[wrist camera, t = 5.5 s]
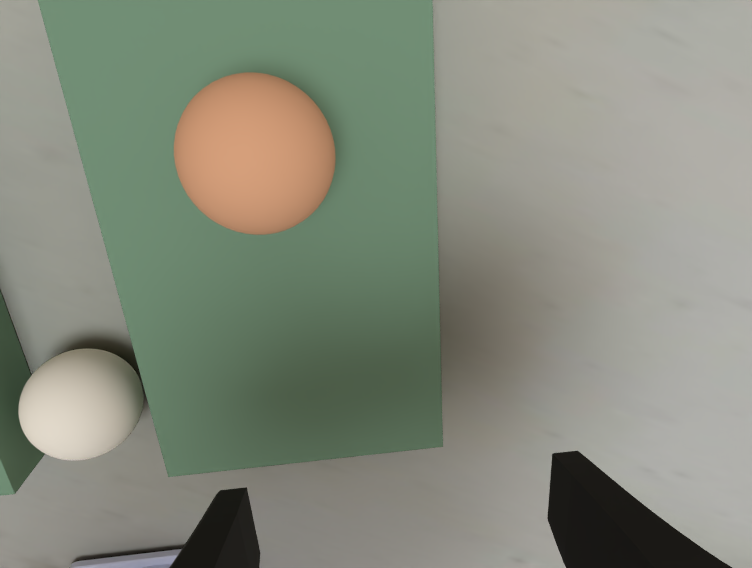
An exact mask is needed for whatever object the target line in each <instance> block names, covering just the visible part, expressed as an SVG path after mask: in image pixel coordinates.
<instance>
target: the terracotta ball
mask: <svg viewBox="0 0 752 568" xmlns="http://www.w3.org/2000/svg"><path fill="white" fill-rule="evenodd" d="M174 160H175V166H176V170H177V173H178V177H179V179H180V182H181V184H182V186H183V188H184V190H185V191H186V193H187V195H188V196H189V198H190V199H191V200H192V202H193V203H194V204H195V205H196V206H197V208H198V209H199V210H200V211H201V212H202V213H204V214H205V215H206V216H207V217H208V218H210V219H211V220H213V221H214V222H216V223H218V224H220V225H222V226H224V227H226V228H228V229H231V230H234V231H236V232H241V233H245V234H254V235H266V234H273V233H278V232H281V231H285V230H287V229H289V228H292V227H294V226H296V225H297V224H299V223H301V222H302V221H304V220H305V219H306V218H308V217H309V216H310V215H311V214H312V213H313V212H314V211H315V210H316V209H317V208H318V207H319V205H320V204H321V203H322V201H323V200H324V198H325V196H326V194H327V192H328V190H329V188H330V185H331V182H332V179H333V175H334V171H335V161H336V159H335V146H334V140H333V136H332V133H331V129H330V127H329V125H328V123H327V120H326V118H325V117H324V115H323V113H322V112H321V110H320V109H319V108H318V106H317V105H316V104H315V102H314V101H313V100H312V99H311V98H310V97H309V96H308V95H307V94H306V93H304V92H303V91H302V90H301V89H299V88H298V87H296V86H295V85H293V84H291V83H290V82H288V81H286V80H283V79H281V78H279V77H276V76H272V75H269V74H263V73H256V72H245V73H238V74H232V75H229V76H226V77H223V78H220V79H218V80H216V81H214V82H212V83H210V84H209V85H207V86H206V87H204V88H203V89H202V90H201V91H199V92H198V93H197V94H196V95H195V96H194V97H193V98H192V100H191V101H190V102H189V103H188V105H187V106H186V108H185V110H184V111H183V113H182V116H181V118H180V120H179V123H178V125H177V129H176V133H175V139H174Z"/></svg>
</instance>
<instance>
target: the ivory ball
mask: <svg viewBox="0 0 752 568" xmlns="http://www.w3.org/2000/svg"><path fill="white" fill-rule="evenodd" d="M143 399H144V397H143V389H142V384H141V381H140V379H139V377H138V375H137V373H136V372H135V370H134V369H133V368H132V367H131V366H130V365H129V364H128V363H127V362H126V361H125V360H124V359H122V358H120V357H119V356H117V355H115V354H113V353H111V352H107V351H104V350H99V349H76V350H71V351H67V352H64V353H61V354H59V355H57V356H55V357H53V358H51V359H50V360H48V361H46V362H45V363H44V364H42V365H41V366H40V367H39V368H38V369H37V370H36V371H35V372H34V373H33V374H32V375H31V377H30V378H29V379H28V381H27V382H26V384H25V386H24V388H23V391H22V393H21V396H20V400H19V409H18V415H19V421H20V425H21V428H22V430H23V432H24V434H25V436H26V437H27V439H28V440H29V441H30V442H31V443H32V444H33V445H34V446H35V447H36V448H37V449H39V450H40V451H41V452H43V453H45V454H47V455H49V456H52V457H55V458H58V459H63V460H85V459H90V458H94V457H97V456H100V455H102V454H105V453H107V452H109V451H111V450H112V449H114V448H115V447H117V446H118V445H119V444H121V443H122V442H123V441H124V440H125V439H126V438H127V437H128V436H129V435H130V434H131V432H132V431H133V429H134V428H135V426H136V424H137V423H138V421H139V418H140V415H141V413H142V408H143Z"/></svg>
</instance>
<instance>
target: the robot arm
mask: <svg viewBox="0 0 752 568" xmlns="http://www.w3.org/2000/svg"><path fill="white" fill-rule="evenodd" d="M548 522H549V524H550V527H551V530H552V533H553V535H554V538H555V541H556V544H557V546H558V549H559V551H560V554H561V557H562V559H563V562H564V564H565V566H566V568H732V567H730V566H729V565H727V564H725V563H724V562H722V561H721V560H719V559H718V558H716V557H715V556H713V555H712V554H710V553H709V552H707V551H706V550H704V549H703V548H701V547H700V546H698V545H697V544H696V543H694V542H693V541H691V540H690V539H689V538H687V537H686V536H684V535H683V534H682V533H680V532H679V531H677V530H676V529H675V528H673V527H672V526H671V525H669V524H668V523H667V522H665V521H664V520H663V519H661V518H660V517H659V516H657V515H656V514H655V513H653V512H652V511H651V510H650V509H648V508H647V507H646V506H644V505H643V504H642V503H641V502H639V501H638V500H637V499H636V498H634V497H633V496H632V495H631V494H629V493H628V492H627V491H626V490H624V489H623V488H622V487H621V486H620V485H618V484H617V483H616V482H615V481H614V480H612V479H611V478H610V477H609V476H607V475H606V474H605V473H604V472H603V471H601V470H600V469H599V468H598V467H597V466H596V465H594V464H593V463H592V462H591V461H590V460H588V459H587V458H586V457H585V456H583V455H582V454H581V453H580V452H579V451H571V452H562V453H553V454H552V467H551V480H550V494H549V507H548ZM259 562H260V550H259V545H258V540H257V535H256V530H255V525H254V521H253V516H252V511H251V506H250V501H249V496H248V491H247V488H238V489H229V490H220V491H219V492H218V493H217V494H216V496H215V498H214V499H213V501H212V503H211V504H210V506H209V507H208V509H207V511H206V512H205V514H204V516H203V517H202V519H201V520H200V522H199V524H198V525H197V527H196V528H195V530H194V532H193V533H192V535H191V536H190V538H189V539H188V541H187V542H186V544H185V545H184V547H183V548H182V549H177V550H169V551H160V552H152V553H143V554H135V555H126V556H117V557H109V558H100V559H92V560H83V561H77V562H73V563H72V564H71V565H70V567H69V568H259Z"/></svg>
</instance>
